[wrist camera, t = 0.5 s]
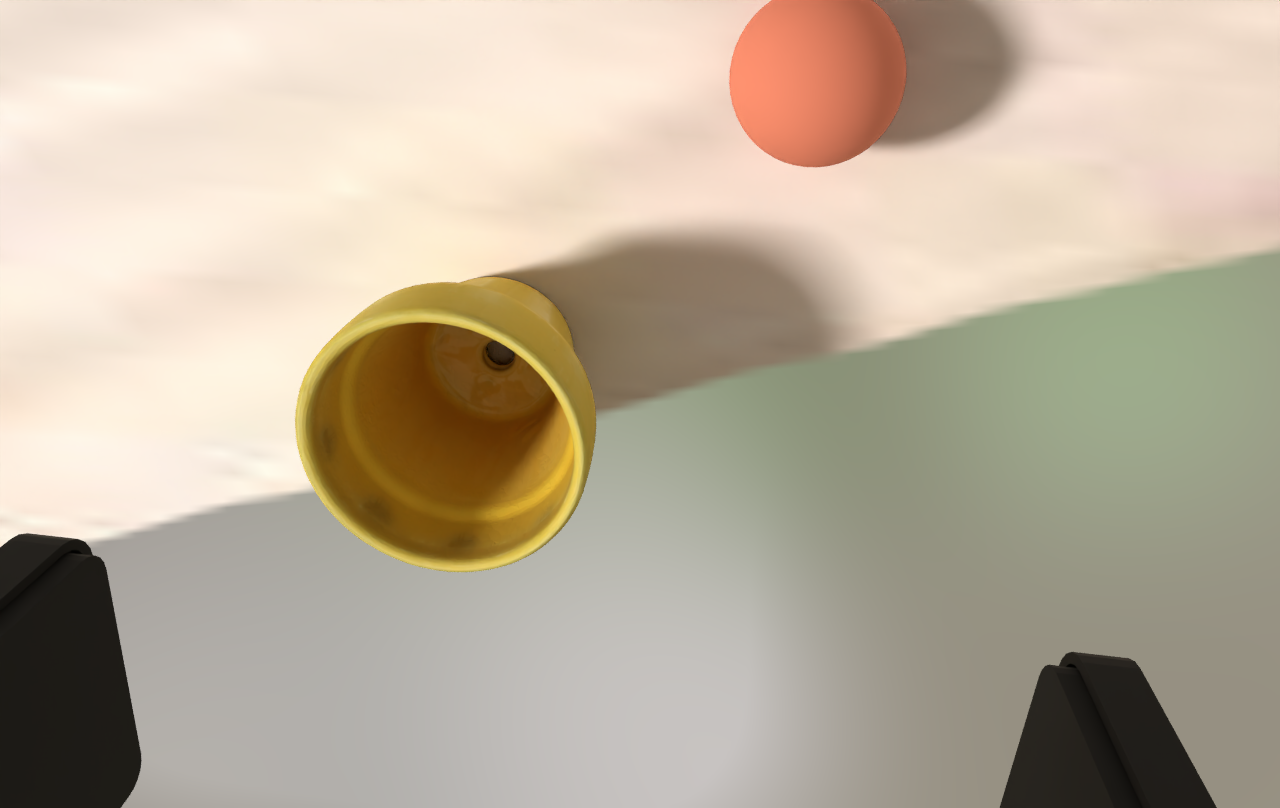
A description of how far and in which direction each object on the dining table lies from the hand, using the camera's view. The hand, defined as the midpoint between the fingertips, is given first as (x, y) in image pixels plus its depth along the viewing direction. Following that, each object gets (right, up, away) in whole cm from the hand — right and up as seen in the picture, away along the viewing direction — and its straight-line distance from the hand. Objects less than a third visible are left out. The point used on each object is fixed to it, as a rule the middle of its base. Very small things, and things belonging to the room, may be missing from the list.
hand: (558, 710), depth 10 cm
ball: (+7, +14, +24) cm, 29 cm away
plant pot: (-5, +6, +33) cm, 34 cm away
